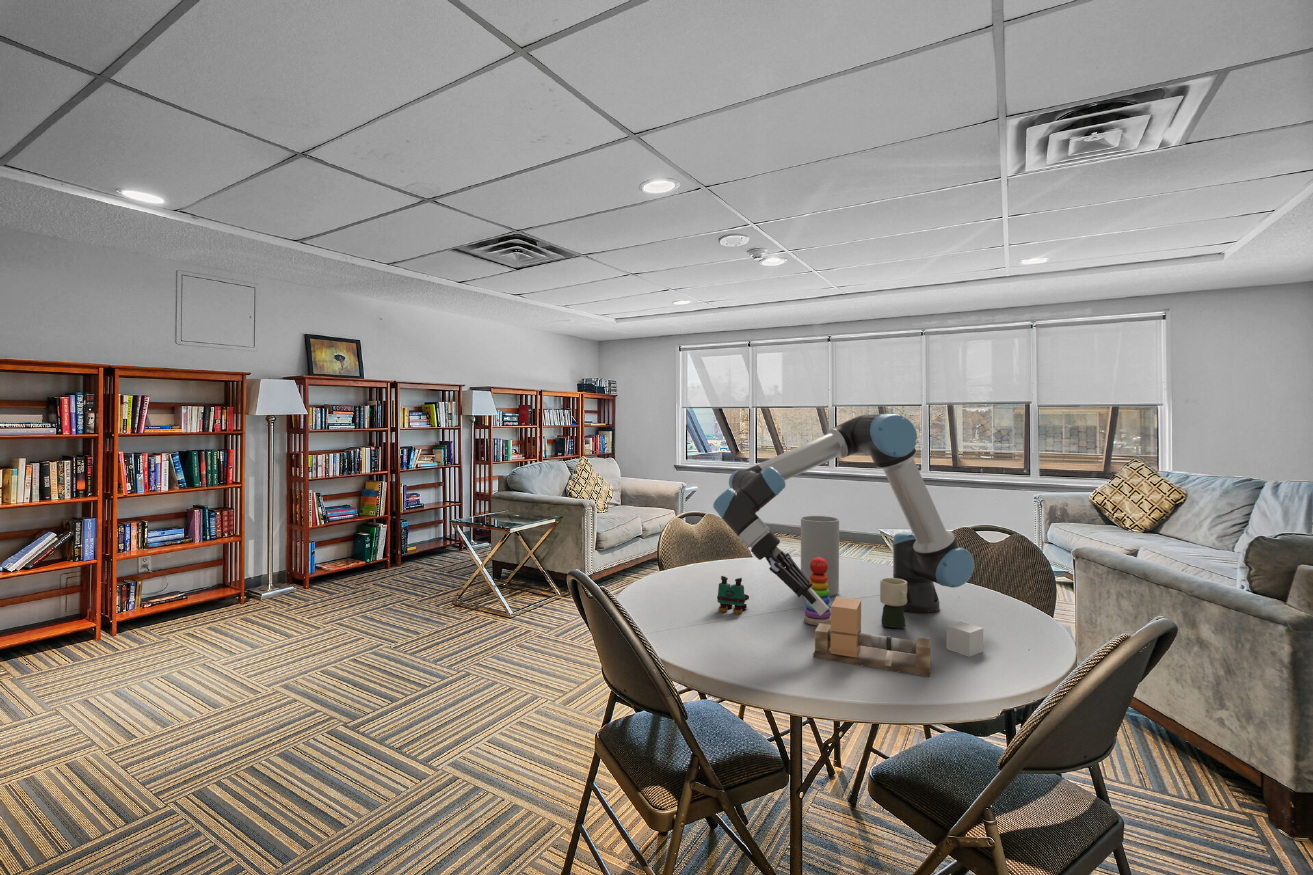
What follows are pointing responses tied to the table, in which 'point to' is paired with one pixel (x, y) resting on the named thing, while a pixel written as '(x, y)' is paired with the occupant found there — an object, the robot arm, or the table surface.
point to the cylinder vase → (821, 547)
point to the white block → (965, 638)
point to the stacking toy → (818, 592)
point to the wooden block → (845, 626)
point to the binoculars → (731, 596)
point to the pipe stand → (879, 652)
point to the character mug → (893, 601)
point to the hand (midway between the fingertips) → (824, 611)
